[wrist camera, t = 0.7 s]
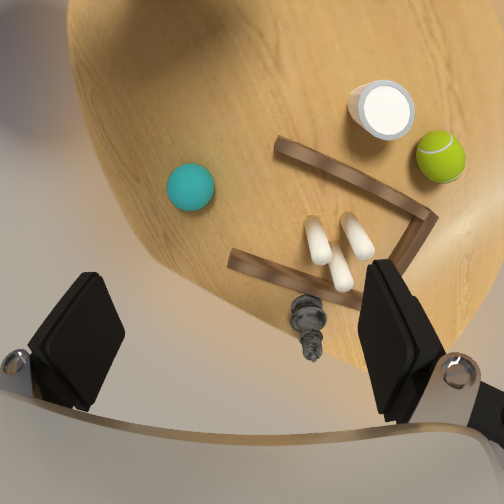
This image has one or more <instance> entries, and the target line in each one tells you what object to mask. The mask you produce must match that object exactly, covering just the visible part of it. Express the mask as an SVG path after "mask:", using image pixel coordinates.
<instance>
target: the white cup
mask: <svg viewBox="0 0 504 504" xmlns="http://www.w3.org/2000/svg"><path fill="white" fill-rule="evenodd" d="M347 105H348V111H349V113H350V115H351V117H352V119H353V120H354V121H356V122H357V123H358V124H359V125H361V126H362V127H363V128H364V129H366V130H367V131H368V132H369V133H371V134H372V135H373V136H374V137H377V138H380V139H383V140H396V139H398V138H400V137H402V136H404V135H406V133H407V132H408V131H409V129H410V128H411V127H412V125H413V121H414V117H415V109H414V103H413V101H412V99H411V96H410V94H409V93H408V92H407V91H406V90H405V89H404V88H403V87H402V86H401V85H400V84H398V83H395V82H393V81H390V80H377V81H374V82H371V83H368V84H365V85H362V86H360V87H358V88H356V89H354V90H353V91H352V93H351V94H350V95H349V99H348V103H347Z"/></svg>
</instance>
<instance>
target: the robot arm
mask: <svg viewBox="0 0 504 504" xmlns="http://www.w3.org/2000/svg"><path fill="white" fill-rule="evenodd" d="M358 335H359V339H360V342H361V346H362V350H363V353H364V357H365V361H366V365H367V369H368V372H369V376H370V380H371V384H372V388H373V393H374V397H375V401H376V405H377V410H378V413H379V414H384V418H385V422H390V421H395V420H396V425H388V426H380V427H371V428H364V429H357V430H347V431H337V432H326V433H310V434H291V435H234V434H215V433H201V432H191V431H182V430H173V429H166V428H159V427H152V426H146V425H140V424H134V423H129V422H123V421H119V420H114V419H109V418H105V417H101V416H96V415H92V414H88V413H85V412H88V411H89V408H90V406H91V405H93V404H94V402H95V400H96V398H97V396H98V393H99V391H100V389H101V386H102V384H103V382H104V380H105V378H106V375H107V373H108V371H109V369H110V367H111V365H112V362H113V360H114V358H115V356H116V354H117V352H118V350H119V348H120V346H121V343H122V341H123V339H124V337H125V330H124V327H123V325H122V323H121V320H120V318H119V316H118V314H117V311H116V309H115V307H114V305H113V302H112V300H111V297H110V295H109V293H108V290H107V288H106V285H105V283H104V280H103V278H102V277H101V276H99V274H98V273H97V272H84V273H82V274H81V275H80V276H79V277H78V278H77V279H76V281H75V282H74V283H73V284H72V286H71V287H70V288H69V290H68V291H67V292H66V293H65V294H64V296H63V297H62V298H61V300H60V301H59V302H58V303H57V305H56V306H55V307H54V308H53V310H52V311H51V313H50V314H49V315H48V317H47V318H46V319H45V321H44V322H43V323H42V325H41V326H40V327H39V329H38V330H37V332H36V333H35V335H34V336H33V337H32V339H31V340H30V342H29V343H28V344H27V345H28V347H29V348H30V350H31V351H32V353H31V355H29V353H28V352H27V351H26V350H24V349H18V350H14V351H13V352H11V353H9V354H8V355H7V356H6V357H5V359H4V360H3V361H2V364H1V367H0V504H504V392H503V391H501V390H499V389H497V388H495V387H492V386H490V385H488V384H486V383H484V382H482V381H481V372H480V368H479V366H478V365H477V363H476V362H475V361H474V360H473V359H472V358H471V357H469V356H467V355H466V354H463V353H459V352H451V353H448V354H446V352H445V350H444V348H443V346H442V344H441V342H440V340H439V338H438V336H437V334H436V332H435V330H434V328H433V326H432V324H431V323H430V321H429V319H428V317H427V315H426V313H425V311H424V310H423V308H422V306H421V304H420V302H419V300H418V299H417V298H416V297H415V296H412V294H411V293H410V291H409V289H408V287H407V286H406V284H405V282H404V280H403V279H402V277H401V275H400V273H399V272H398V270H397V268H396V267H395V265H394V263H393V262H392V260H391V259H380V260H374V261H373V263H372V264H371V265H368V267H367V272H366V279H365V286H364V292H363V299H362V305H361V311H360V316H359V322H358ZM73 406H75V408H76V409H78V410H82V411H85V412H81V411H77V410H73V409H72V408H73Z"/></svg>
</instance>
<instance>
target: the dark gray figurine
mask: <svg viewBox="0 0 504 504" xmlns="http://www.w3.org/2000/svg"><path fill="white" fill-rule="evenodd" d="M291 310H292V313H293V315H292V317H291V320H290V324H291V327H292V328H293V329H294V330H295V331H297V332H299V333H301V335H300V337H299V341H300V343H301V344H302V348H303V355H304V357H305V358H306V359H307V360H311V361H312V362H315V361H316V359H318V358H320V356H321V355H322V344H321V341H322V339H323V335H322V333H321V332H320V330H321V329H322V328H323V327H324V326H325V324H326V322H327V316H326V313H325V312H324V311H323V310H322V301H321V300H320V298H318V297H315V296H312V295H309V294H305V295H301V296H299V297H297V298H296V299H295V300H294V301H293V302H292V305H291Z"/></svg>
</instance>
